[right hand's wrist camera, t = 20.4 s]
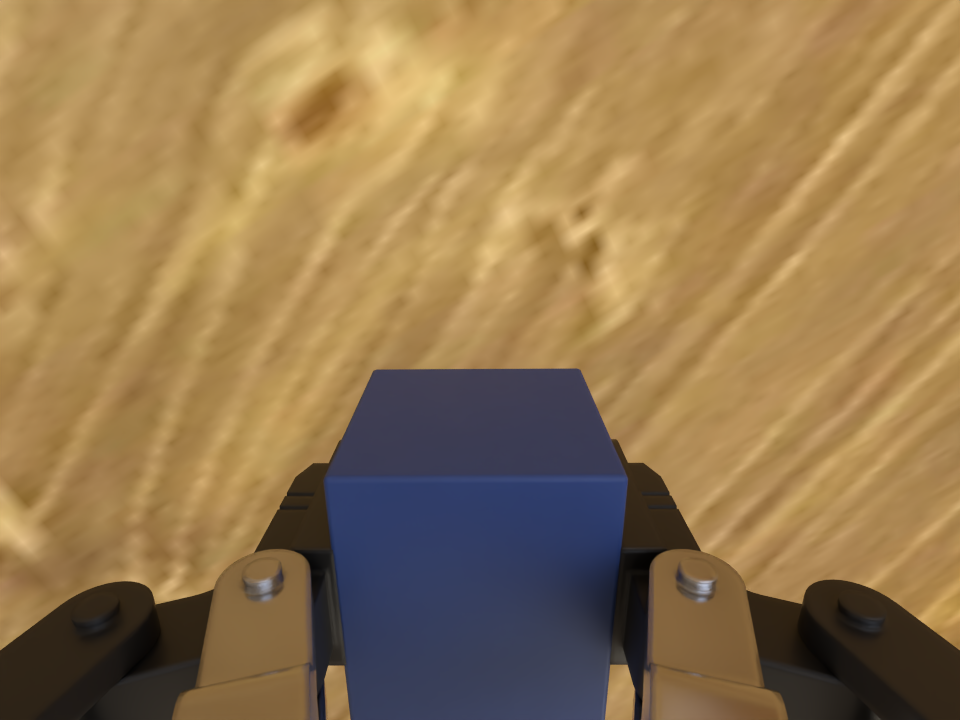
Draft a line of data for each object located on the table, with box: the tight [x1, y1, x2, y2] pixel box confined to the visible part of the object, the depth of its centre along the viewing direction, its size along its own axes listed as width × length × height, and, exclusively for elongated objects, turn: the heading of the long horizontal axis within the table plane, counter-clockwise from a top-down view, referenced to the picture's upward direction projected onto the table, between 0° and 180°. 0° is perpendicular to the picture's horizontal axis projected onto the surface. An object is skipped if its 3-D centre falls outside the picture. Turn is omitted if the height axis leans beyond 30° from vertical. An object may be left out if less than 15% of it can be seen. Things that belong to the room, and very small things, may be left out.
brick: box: [323, 369, 628, 720], centre depth 11 cm, size 4×5×4 cm
